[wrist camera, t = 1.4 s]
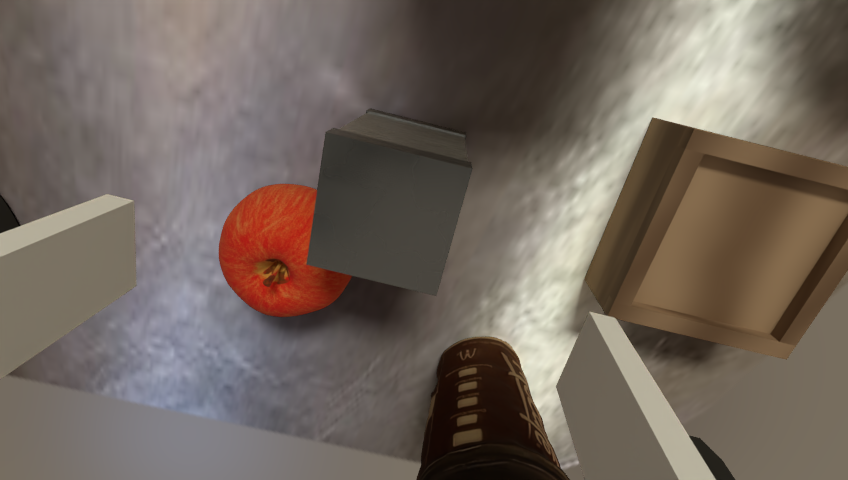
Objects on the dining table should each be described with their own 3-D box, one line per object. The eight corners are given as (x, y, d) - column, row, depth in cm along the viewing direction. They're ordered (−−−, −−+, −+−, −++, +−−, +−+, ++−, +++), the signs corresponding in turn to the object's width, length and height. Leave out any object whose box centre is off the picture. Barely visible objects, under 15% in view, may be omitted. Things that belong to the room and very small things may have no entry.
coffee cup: (474, 431, 36) (485, 619, 23) (400, 370, 34) (370, 540, 22) (559, 371, 33) (620, 549, 21) (483, 301, 31) (501, 452, 19)
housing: (353, 200, 29) (306, 264, 20) (370, 108, 27) (325, 132, 17) (441, 221, 29) (436, 295, 20) (465, 132, 27) (472, 168, 17)
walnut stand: (584, 279, 30) (607, 316, 25) (652, 117, 26) (694, 128, 21) (737, 315, 30) (786, 359, 26) (829, 162, 26) (907, 182, 22)
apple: (319, 147, 28) (269, 179, 20) (390, 248, 30) (369, 309, 23) (227, 210, 30) (152, 259, 22) (300, 299, 32) (254, 371, 25)
